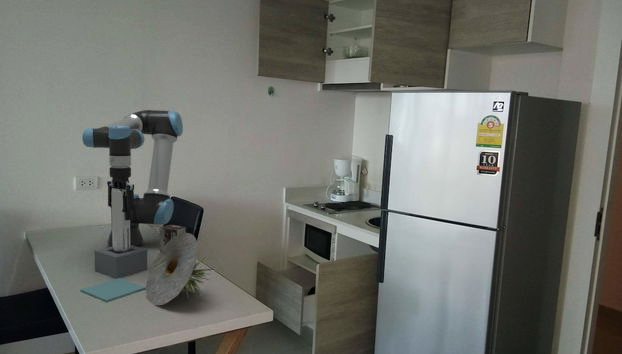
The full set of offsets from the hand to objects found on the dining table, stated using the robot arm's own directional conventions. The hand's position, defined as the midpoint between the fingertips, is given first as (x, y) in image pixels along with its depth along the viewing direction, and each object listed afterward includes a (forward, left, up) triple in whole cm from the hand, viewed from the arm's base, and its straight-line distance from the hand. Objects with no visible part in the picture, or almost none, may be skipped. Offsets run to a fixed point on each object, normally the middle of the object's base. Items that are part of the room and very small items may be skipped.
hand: (121, 226), depth 178 cm
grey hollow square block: (0, 0, -17) cm, 17 cm away
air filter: (0, 0, -10) cm, 10 cm away
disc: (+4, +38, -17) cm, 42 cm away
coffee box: (-16, +11, -17) cm, 26 cm away
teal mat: (+14, +16, -17) cm, 27 cm away
